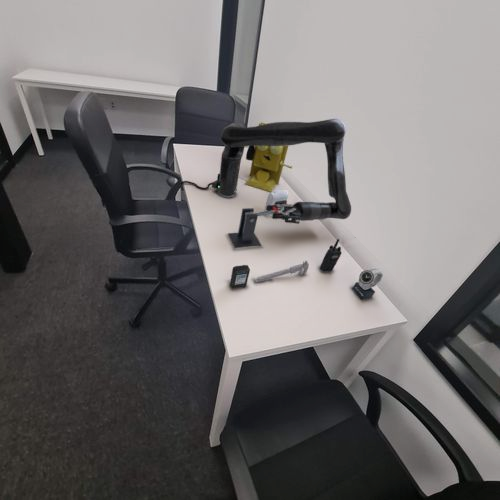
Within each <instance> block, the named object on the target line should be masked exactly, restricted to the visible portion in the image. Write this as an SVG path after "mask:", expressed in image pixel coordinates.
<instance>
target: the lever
mask: <svg viewBox="0 0 500 500" xmlns="http://www.w3.org/2000/svg"><path fill="white" fill-rule="evenodd" d="M273 213H279V212H278V210H277V209H276V208H275V207H272V210H271V211H265V212H264V211H259V212H252V211H250V212H245V217H246V214H257V215H258V217H263V216H268V215H269V214H273Z"/></svg>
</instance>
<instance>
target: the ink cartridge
mask: <svg viewBox="0 0 500 500" xmlns="http://www.w3.org/2000/svg"><path fill="white" fill-rule="evenodd" d="M231 269H232V270H231V275H230V276H231V277H230V282H229V284H230V287H231V289H232V290H235V289H240V288H241V289H242V288H246V287H247V283H248V280H249V276H250V271H251V269H250V267H249V265H248V264H242V265H235V266H233V267H232V268H231Z"/></svg>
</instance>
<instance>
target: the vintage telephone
mask: <svg viewBox="0 0 500 500" xmlns="http://www.w3.org/2000/svg"><path fill="white" fill-rule="evenodd" d="M263 124H266V123H265V122H260V123H258V126H259V125H263ZM288 149H289V146H248V148H247V150H246V155H245V160H247V161H248V162H249V161H250V162H251V165H250V171H249V178H248V180H246V179H244V178H242V177H240V176H238V179H241V180H244V181H246V182H245V185H246V186H250V187H252V188H256V189H259V190H262V191H266V192H269V193H271V192H273V190H274V188H275V186H276V185H279V184H280V180H281V175H282V173H283V168H284V167H286V168H288V169H292V168H293V165H289V164H286V163H285V160H286V157H287V153H288Z"/></svg>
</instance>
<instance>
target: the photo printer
mask: <svg viewBox="0 0 500 500" xmlns="http://www.w3.org/2000/svg"><path fill="white" fill-rule="evenodd" d="M288 198H289V193H288V191H287V190H284V189H277V190H272V191H271V192H269V193H268V195H267V198H266V202H265V205H264V210H263V212H265V211H267V210H266V208H267V205H275V202H277V201H284V200H286V201H287V200H288ZM287 202H288V201H287ZM278 209H280V208H278ZM283 210H284V208H283ZM278 212H279V213H280V211H278ZM272 215H273V214H269V215H267V216H268V217H272Z"/></svg>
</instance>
